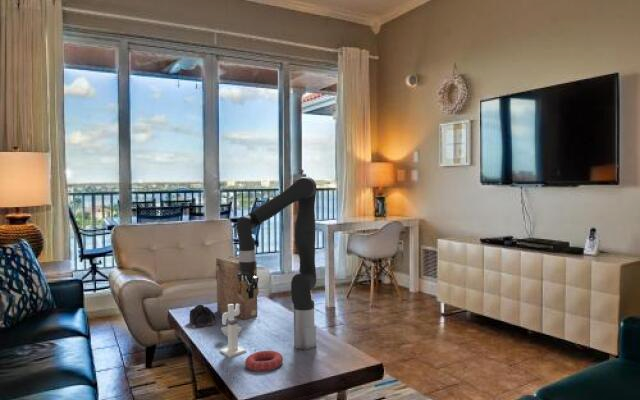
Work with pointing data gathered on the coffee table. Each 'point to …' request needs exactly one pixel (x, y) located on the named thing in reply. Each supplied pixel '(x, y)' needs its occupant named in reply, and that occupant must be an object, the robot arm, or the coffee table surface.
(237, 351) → the post
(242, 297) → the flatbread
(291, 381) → the coffee table surface
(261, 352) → the torus
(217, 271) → the brown wooden box
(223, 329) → the figurine
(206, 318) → the black rough rounded lump
